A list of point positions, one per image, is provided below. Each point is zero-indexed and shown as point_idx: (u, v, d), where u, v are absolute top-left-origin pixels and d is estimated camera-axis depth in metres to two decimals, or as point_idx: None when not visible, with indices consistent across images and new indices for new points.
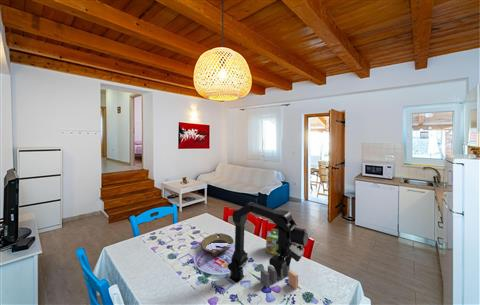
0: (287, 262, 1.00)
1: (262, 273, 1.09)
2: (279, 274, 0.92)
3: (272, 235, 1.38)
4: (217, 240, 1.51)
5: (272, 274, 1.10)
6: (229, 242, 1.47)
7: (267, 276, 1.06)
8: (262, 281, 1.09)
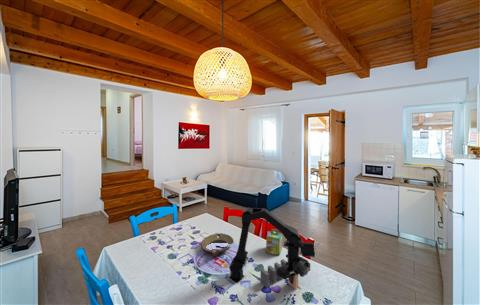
0: None
1: (262, 273, 1.09)
2: (291, 281, 1.06)
3: (272, 235, 1.38)
4: (217, 240, 1.51)
5: (272, 274, 1.10)
6: (229, 242, 1.47)
7: (267, 276, 1.06)
8: (262, 281, 1.09)
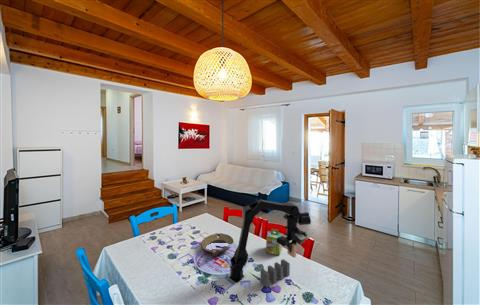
0: None
1: (262, 273, 1.09)
2: (289, 250, 1.18)
3: (272, 235, 1.38)
4: (217, 240, 1.51)
5: (272, 274, 1.10)
6: (229, 242, 1.47)
7: (267, 276, 1.06)
8: (262, 281, 1.09)
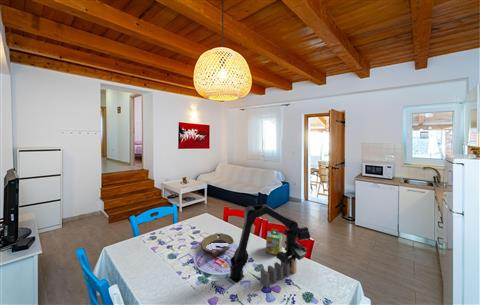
0: None
1: (262, 273, 1.09)
2: None
3: (272, 235, 1.38)
4: (217, 240, 1.51)
5: (272, 274, 1.10)
6: (229, 242, 1.47)
7: (267, 276, 1.06)
8: (262, 281, 1.09)
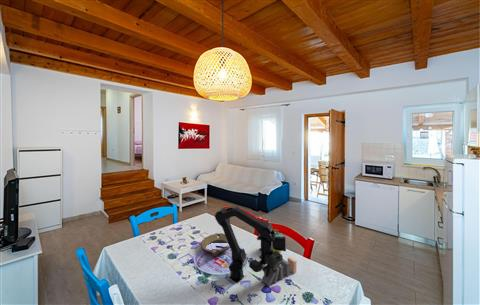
0: None
1: None
2: (265, 274, 1.08)
3: None
4: (217, 240, 1.51)
5: None
6: None
7: (273, 274, 1.09)
8: (264, 278, 1.10)
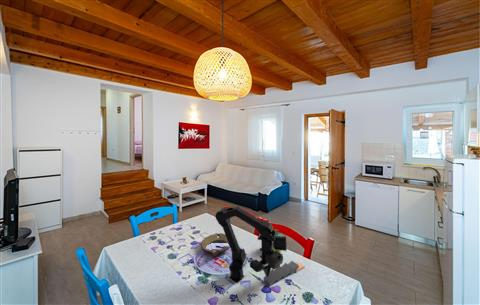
0: None
1: (272, 271, 1.13)
2: (265, 274, 1.09)
3: None
4: (217, 240, 1.51)
5: (281, 272, 1.13)
6: None
7: (277, 275, 1.10)
8: (267, 277, 1.11)
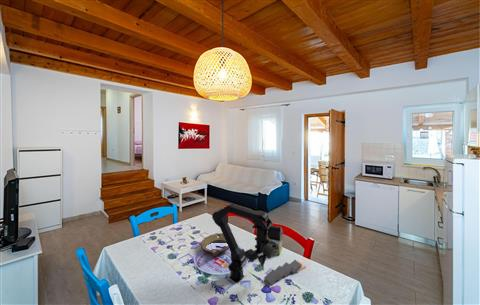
0: None
1: (273, 271, 1.13)
2: (261, 263, 1.06)
3: None
4: (217, 240, 1.51)
5: (281, 271, 1.14)
6: None
7: (278, 275, 1.10)
8: (267, 277, 1.11)
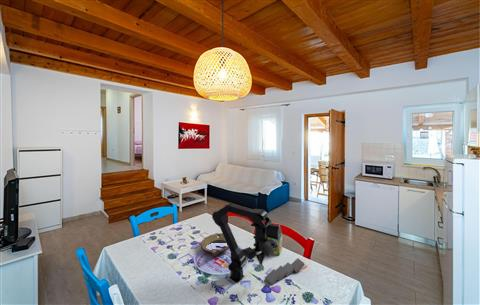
0: None
1: (274, 271, 1.13)
2: (259, 262, 1.06)
3: None
4: (217, 240, 1.51)
5: (282, 271, 1.14)
6: None
7: (278, 275, 1.11)
8: (268, 277, 1.11)
